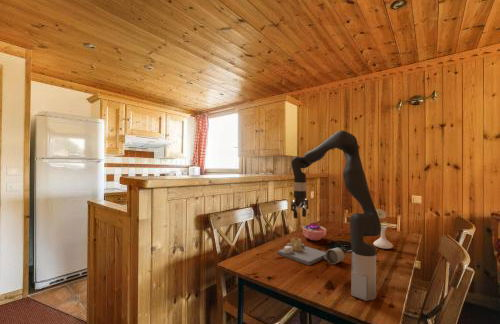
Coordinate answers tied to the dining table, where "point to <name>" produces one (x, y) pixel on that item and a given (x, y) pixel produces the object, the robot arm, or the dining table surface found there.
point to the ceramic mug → (334, 255)
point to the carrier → (302, 254)
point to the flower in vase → (382, 233)
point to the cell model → (314, 231)
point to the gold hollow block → (296, 244)
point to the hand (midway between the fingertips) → (300, 217)
